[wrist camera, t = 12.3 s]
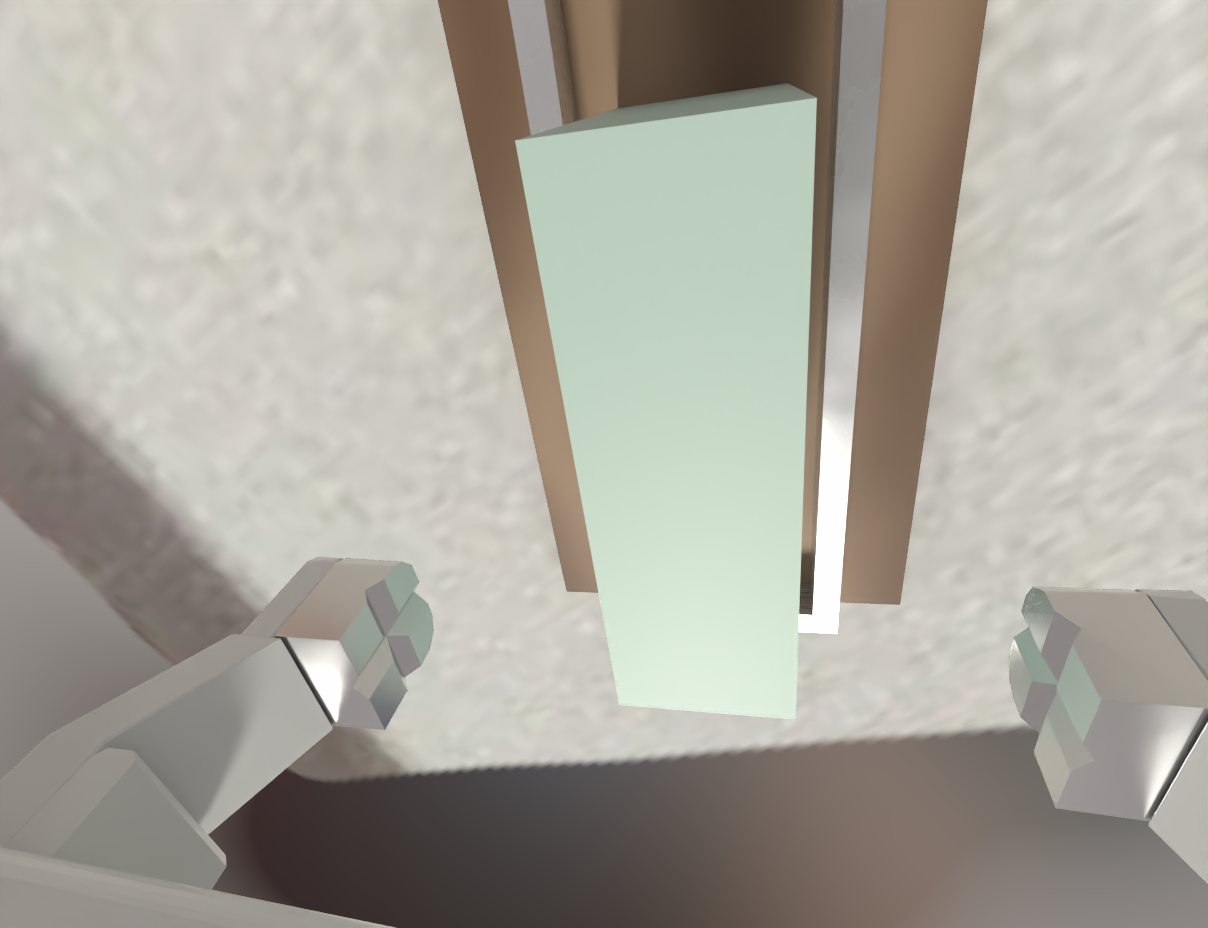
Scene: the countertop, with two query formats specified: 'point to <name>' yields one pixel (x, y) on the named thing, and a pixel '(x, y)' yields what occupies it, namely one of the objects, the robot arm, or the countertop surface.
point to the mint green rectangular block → (686, 380)
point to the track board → (896, 229)
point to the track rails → (844, 249)
